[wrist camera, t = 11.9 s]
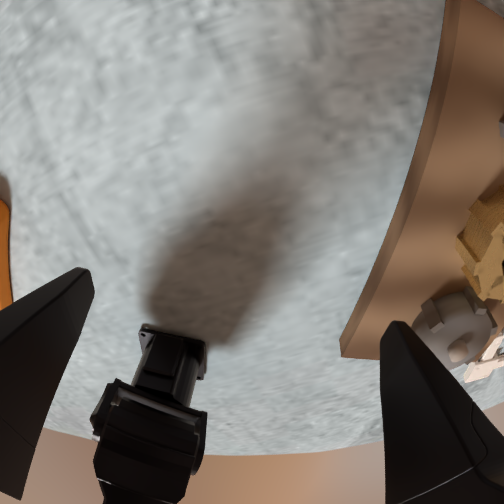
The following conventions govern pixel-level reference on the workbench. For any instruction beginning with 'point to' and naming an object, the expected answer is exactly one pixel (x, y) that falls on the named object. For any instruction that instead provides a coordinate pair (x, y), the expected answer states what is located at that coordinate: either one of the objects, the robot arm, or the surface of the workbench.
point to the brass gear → (484, 247)
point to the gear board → (442, 203)
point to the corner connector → (485, 362)
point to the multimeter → (4, 257)
